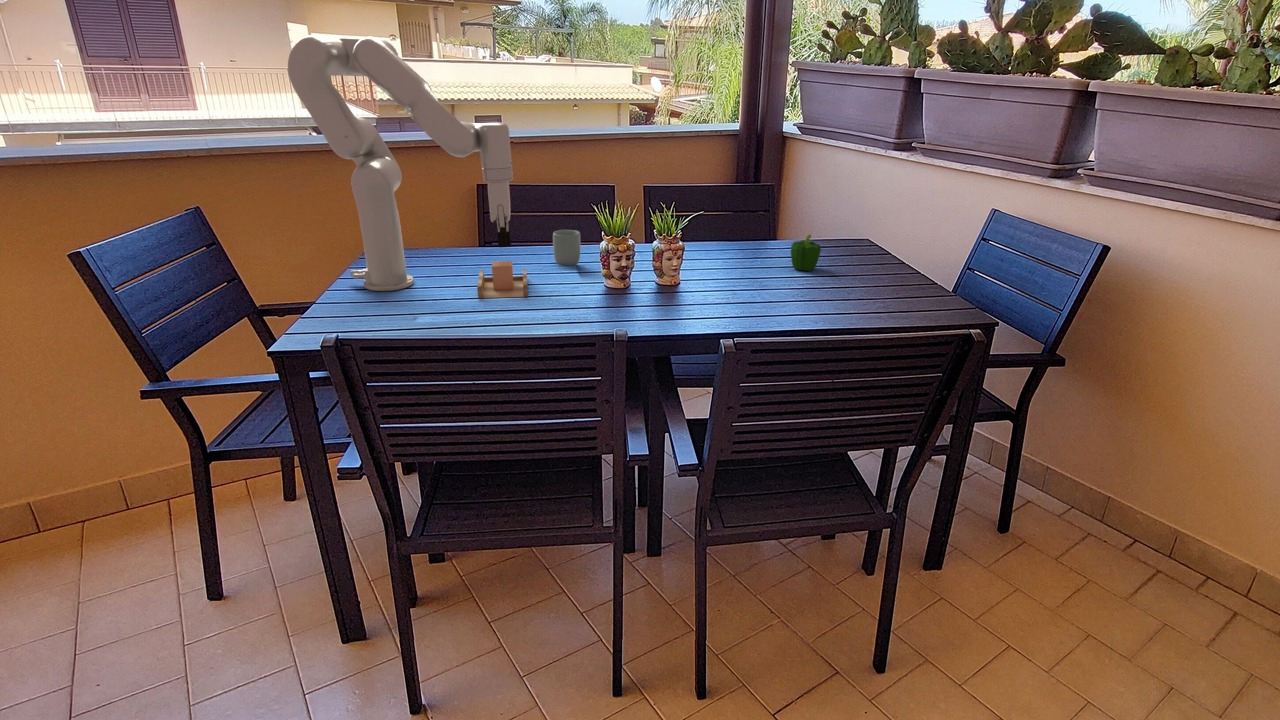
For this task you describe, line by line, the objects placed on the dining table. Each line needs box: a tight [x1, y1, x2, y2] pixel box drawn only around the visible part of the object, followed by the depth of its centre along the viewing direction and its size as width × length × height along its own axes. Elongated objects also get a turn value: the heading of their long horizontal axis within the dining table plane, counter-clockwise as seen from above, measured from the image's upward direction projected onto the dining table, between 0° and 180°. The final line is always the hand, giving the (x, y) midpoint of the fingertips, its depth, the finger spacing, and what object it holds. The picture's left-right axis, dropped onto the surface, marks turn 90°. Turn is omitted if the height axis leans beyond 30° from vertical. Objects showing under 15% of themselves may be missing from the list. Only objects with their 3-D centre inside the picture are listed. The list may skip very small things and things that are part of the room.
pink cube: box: [491, 260, 514, 290], centre depth 167 cm, size 5×5×6 cm
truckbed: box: [476, 268, 529, 299], centre depth 167 cm, size 15×12×4 cm
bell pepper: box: [790, 233, 821, 272], centre depth 192 cm, size 8×8×10 cm
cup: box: [552, 229, 581, 267], centre depth 190 cm, size 8×8×10 cm
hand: (504, 245), depth 172 cm, fingers closed
